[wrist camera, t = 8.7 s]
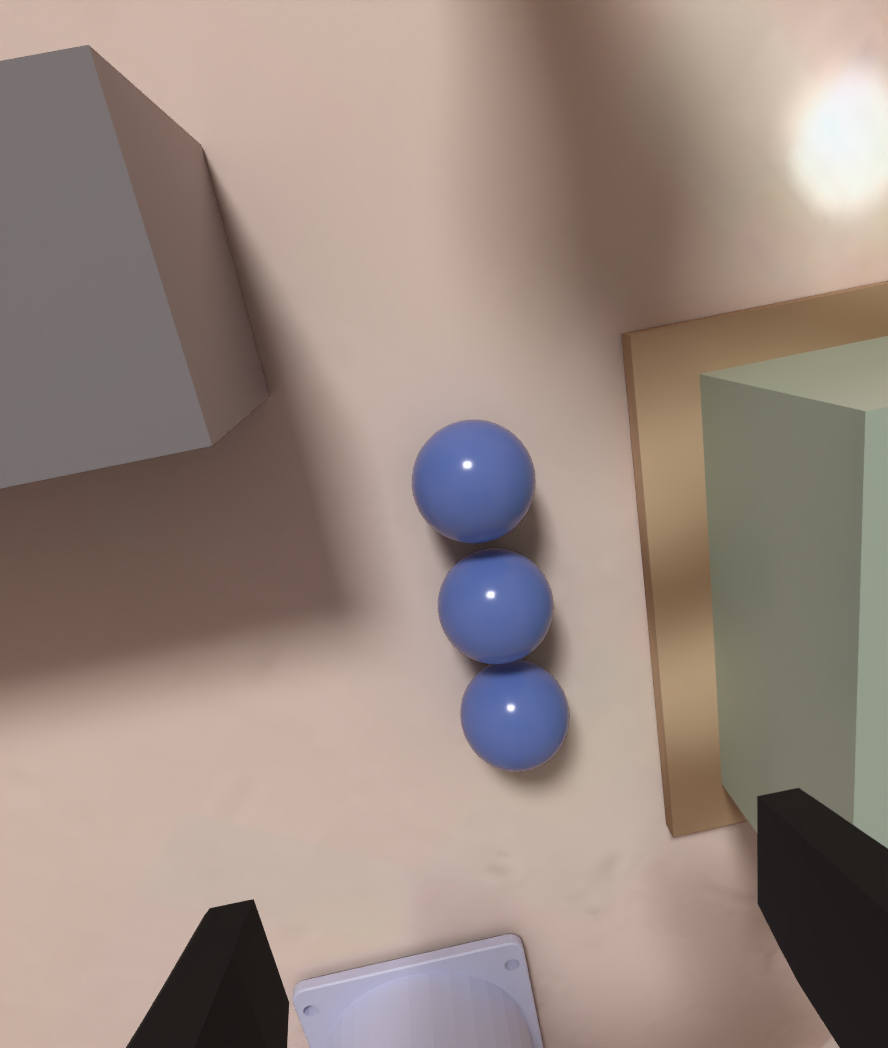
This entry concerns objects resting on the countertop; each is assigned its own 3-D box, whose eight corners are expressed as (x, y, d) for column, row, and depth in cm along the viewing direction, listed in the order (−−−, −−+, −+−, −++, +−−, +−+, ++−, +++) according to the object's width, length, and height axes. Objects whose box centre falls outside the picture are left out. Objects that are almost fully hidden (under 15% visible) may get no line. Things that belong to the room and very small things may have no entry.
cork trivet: (924, 766, 22) (938, 778, 22) (666, 823, 22) (673, 837, 21) (960, 265, 17) (980, 265, 16) (621, 334, 17) (629, 335, 16)
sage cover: (890, 746, 21) (1079, 909, 15) (721, 784, 21) (849, 962, 15) (912, 330, 17) (1183, 345, 11) (699, 373, 17) (865, 411, 11)
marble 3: (559, 715, 20) (589, 782, 17) (464, 736, 20) (478, 806, 17) (546, 630, 19) (576, 686, 16) (446, 651, 19) (458, 712, 16)
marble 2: (545, 618, 19) (573, 673, 16) (444, 639, 19) (455, 698, 16) (530, 522, 18) (559, 563, 15) (423, 544, 18) (432, 589, 15)
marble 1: (528, 508, 18) (556, 547, 15) (421, 531, 18) (429, 573, 15) (512, 400, 17) (539, 419, 14) (398, 423, 17) (402, 447, 14)
